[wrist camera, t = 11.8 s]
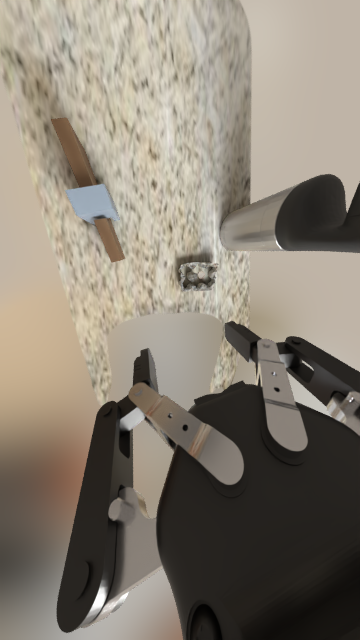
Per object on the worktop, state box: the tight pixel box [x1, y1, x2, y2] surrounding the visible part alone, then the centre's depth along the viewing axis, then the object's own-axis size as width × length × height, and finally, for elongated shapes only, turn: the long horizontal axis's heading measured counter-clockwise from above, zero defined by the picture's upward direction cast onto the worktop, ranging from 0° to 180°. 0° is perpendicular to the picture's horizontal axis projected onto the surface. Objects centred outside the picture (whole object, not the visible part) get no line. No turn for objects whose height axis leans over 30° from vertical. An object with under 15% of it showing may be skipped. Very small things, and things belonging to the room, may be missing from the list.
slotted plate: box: [51, 118, 125, 262], centre depth 26 cm, size 2×18×7 cm, turn 12°
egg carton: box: [178, 262, 218, 291], centre depth 38 cm, size 11×8×4 cm
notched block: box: [65, 184, 120, 225], centre depth 25 cm, size 6×3×9 cm, turn 102°
